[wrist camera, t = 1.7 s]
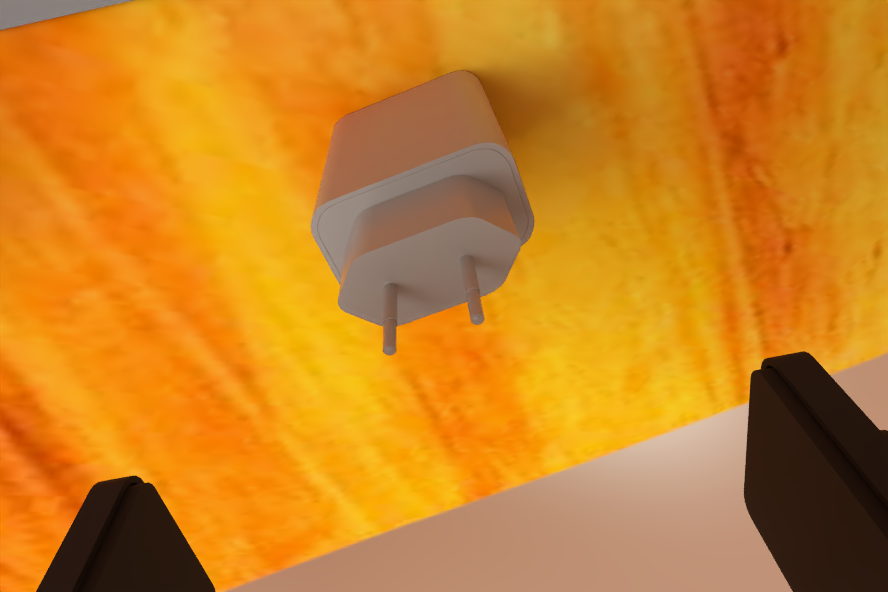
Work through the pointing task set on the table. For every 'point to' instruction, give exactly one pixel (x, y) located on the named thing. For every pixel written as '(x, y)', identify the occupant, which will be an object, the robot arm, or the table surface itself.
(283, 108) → the table surface
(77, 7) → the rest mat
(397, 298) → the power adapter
